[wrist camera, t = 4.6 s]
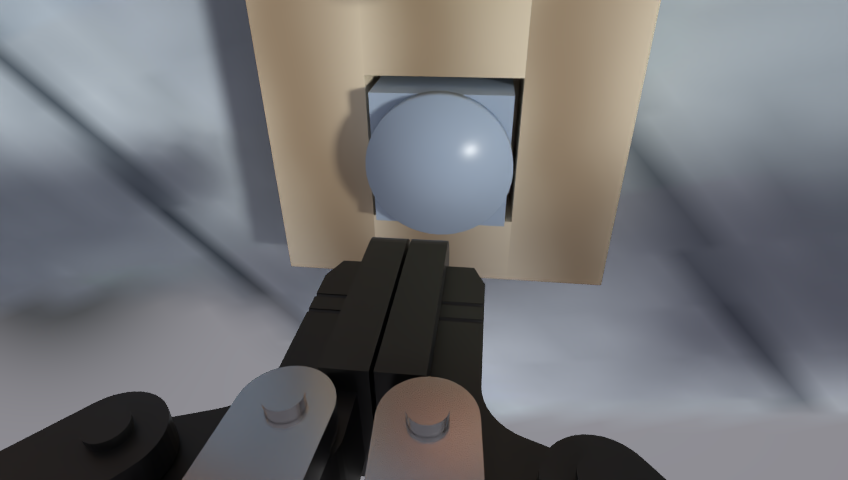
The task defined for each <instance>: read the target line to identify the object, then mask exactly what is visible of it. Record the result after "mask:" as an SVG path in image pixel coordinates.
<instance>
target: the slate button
mask: <svg viewBox="0 0 848 480" xmlns="http://www.w3.org/2000/svg"><path fill="white" fill-rule="evenodd" d="M368 98H369V113H370V129H371V138H370V140H369V144H368V147H367V152H366V174H367V179H368V183H369V186H370V188H371V190H372V193H373V195H374V196H375V206H376V220H386V221H398V222H400V223H402V224H403V225H405V226H407V227H409V228H411V229H414V230H417V231H420V232H424V233H429V234H454V233H459V232H463V231H466V230H469V229H472V228H474V227H476V226H478V225H486V226H504V222H505V210H506V198H507V194H508V192H509V189H510V186H511V183H512V177H513V156H512V148H511V139H512V127H513V115H514V103H515V92H514V84H513V78H479V77H428V76H381V77H380V79H379V80H378V81H377V82H376V83H375V85H374V86H373V87H372V88H371V90H370V91H369V92H368Z"/></svg>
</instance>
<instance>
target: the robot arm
mask: <svg viewBox="0 0 848 480" xmlns="http://www.w3.org/2000/svg"><path fill="white" fill-rule="evenodd" d="M484 293H485V284H484V283H483V281H482V279H481V278H480V276H479V275H478V273H477V271H476V270H475V268H469V267H451V266H449V241H443V240H424V239H411V242H410V239H402V238H382V237H372V238H371V240H370V242H369V244H368V247H367V249H366V251H365V254H364V256H363V258H362V261H343V262H341V263H340V264H339V265H338V266H337V267H335V268H334V269H333V270H332V271H330V272H329V273H328V274H327V275H326V276H325V278H324V280H323V282H322V284H321V286H320V288H319V290H318V292H317V297H315V298H314V300H313V302H312V303H311V305H310V307H309V312H307V313H306V315H305V317H304V319H303V321H302V323H301V325H300V327H299V329H298V331H297V333H296V335H295V337H294V339H293V341H292V343H291V345H290V347H289V349H288V351H287V353H286V355H285V357H284V359H283V361H282V363H281V365H280V367H279V368H277V369H274V370H271V371H269V372H266V373H264V374H262V375H261V376H259V377H257V378H255V379H254V380H253V381H251V382H250V383H249V384H248V385H247V386H246V387H245V388H243V389H242V391H241V392H240V393H239V395H238V396H237V397H236V399H235V400H234V402H233V403H232V405H231V406H228V407H224V408H219V409H214V410H209V411H203V412H198V413H193V414H187V415H181V416H175V417H171V414H170V411H169V409H168V407H167V405H166V403H165V402H164V401H163V400H162V399H161V398H160V397H158V396H156V395H154V394H151V393H147V392H126V393H121V394H117V395H113V396H110V397H107V398H105V399H102V400H100V401H98V402H96V403H93V404H91V405H90V406H87V407H86V408H84V409H82V410H80V411H78V412H76V413H74V414H72V415H70V416H68V417H66V418H64V419H62V420H60V421H58V422H57V423H54V424H52V425H50V426H49V427H46V428H45V429H43V430H41V431H39V432H37V433H35V434H33V435H31V436H29V437H27V438H25V439H23V440H21V441H19V442H17V443H15V444H14V445H11V446H9V447H8V448H5V449H3V450H2V451H0V480H360V477H361V476H365V479H364V480H666V479H665V478H663V476H661V475H660V474H659V473H658V472H657V471H656V470H655V469H654V468H652V466H650V465H649V464H648V463H647V462H646V461H644V459H643V458H641V457H640V456H639V455H638V454H637V453H635V452H634V451H632V450H631V449H629V448H628V447H626V446H624V445H623V444H621V443H618V442H616V441H614V440H611V439H608V438H605V437H601V436H596V435H574V436H570V437H567V438H564V439H562V440H560V441H558V442H556V443H555V444H554V445H552V446H551V447H550V448H549V447H547V446H544V445H542V444H539V443H537V442H534V441H531V440H529V439H526V438H524V437H522V436H519V435H517V434H515V433H513V432H512V431H510V430H508V429H507V428H505V427H504V426H503V425H502V424H500V423H499V422H498V421H497V420H496V419H495V418H494V417H493V416H492V414H491V413H490V411H489V410H488V409H487V407H486V405H485V402H484V400H483V396H482V390H481V379H482V351H483V321H484Z"/></svg>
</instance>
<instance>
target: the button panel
mask: <svg viewBox="0 0 848 480" xmlns="http://www.w3.org/2000/svg"><path fill="white" fill-rule="evenodd" d="M660 2H661V0H246V6H247V12H248V18H249V24H250V29H251V35H252V41H253V47H254V53H255V58H256V64H257V70H258V76H259V82H260V87H261V93H262V99H263V105H264V111H265V116H266V122H267V128H268V134H269V140H270V146H271V151H272V157H273V163H274V169H275V175H276V180H277V186H278V192H279V198H280V204H281V209H282V215H283V221H284V227H285V233H286V238H287V244H288V250H289V256H290V262H291V266H296V267H312V268H328V269H334V268H335V267H337V266H338V265H339V264H340V263H341V262H343V261H362V258H363V256H364V254H365V251H366V249H367V247H368V244H369V242H370V240H371V238H372V237H382V238H402V239H410V242H411V239H424V240H443V241H449V266H451V267H469V268H475V270H476V271H477V273H478V275H479V276H480V278H492V279H508V280H525V281H541V282H557V283H574V284H590V285H601V282H602V277H603V272H604V268H605V263H606V258H607V253H608V249H609V244H610V239H611V235H612V230H613V225H614V220H615V216H616V211H617V206H618V201H619V197H620V192H621V187H622V182H623V178H624V173H625V168H626V163H627V159H628V154H629V149H630V144H631V140H632V135H633V130H634V125H635V121H636V116H637V111H638V106H639V102H640V97H641V92H642V87H643V83H644V78H645V73H646V68H647V64H648V59H649V54H650V49H651V45H652V40H653V35H654V30H655V26H656V21H657V16H658V11H659V7H660ZM381 76H428V77H479V78H513V84H514V92H515V103H514V115H513V127H512V139H511V148H512V156H513V177H512V183H511V186H510V189H509V192H508V194H507V198H506V210H505V222H504V226H486V225H478V226H476V227H474V228H472V229H469V230H466V231H463V232H459V233H454V234H429V233H424V232H420V231H417V230H414V229H411V228H409V227H407V226H405V225H403V224H402V223H400V222H398V221H386V220H376V206H375V196H374V195H373V193H372V190H371V188H370V186H369V183H368V179H367V174H366V152H367V147H368V144H369V140H370V138H371V129H370V113H369V98H368V92H369V91H370V90H371V88H372V87H373V86H374V85H375V83H376V82H377V81H378V80H379V79H380V77H381Z"/></svg>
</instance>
